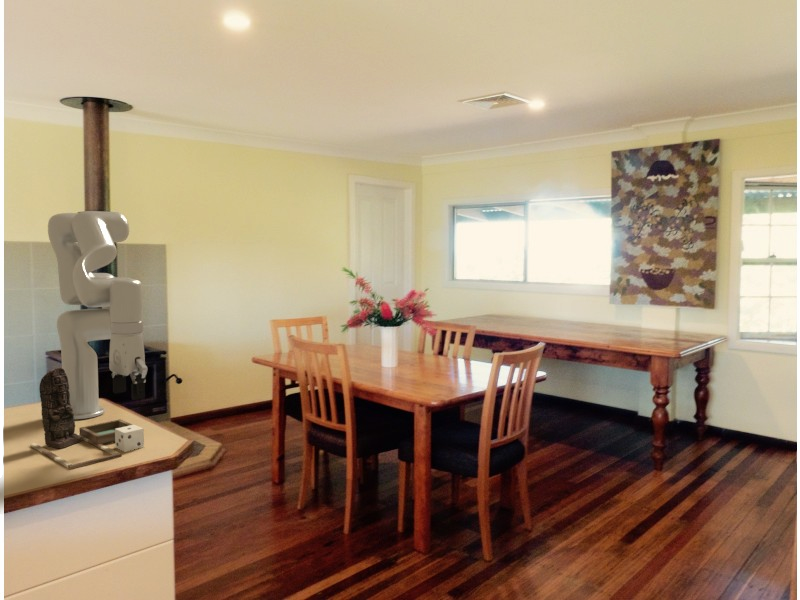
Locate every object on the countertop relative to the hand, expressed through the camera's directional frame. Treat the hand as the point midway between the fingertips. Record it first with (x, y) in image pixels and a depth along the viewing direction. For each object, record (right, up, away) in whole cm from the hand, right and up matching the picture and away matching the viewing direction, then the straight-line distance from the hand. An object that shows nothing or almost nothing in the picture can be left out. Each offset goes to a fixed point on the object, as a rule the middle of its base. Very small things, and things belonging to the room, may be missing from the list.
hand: (128, 395), depth 157 cm
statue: (-19, -13, +3) cm, 23 cm away
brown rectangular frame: (-13, -14, -2) cm, 19 cm away
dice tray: (-9, -13, +10) cm, 18 cm away
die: (0, -14, +1) cm, 14 cm away
